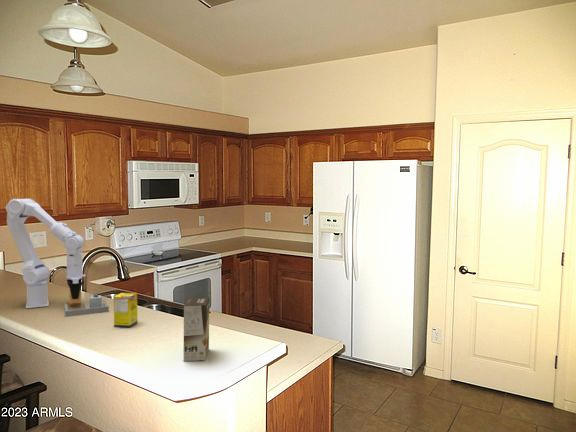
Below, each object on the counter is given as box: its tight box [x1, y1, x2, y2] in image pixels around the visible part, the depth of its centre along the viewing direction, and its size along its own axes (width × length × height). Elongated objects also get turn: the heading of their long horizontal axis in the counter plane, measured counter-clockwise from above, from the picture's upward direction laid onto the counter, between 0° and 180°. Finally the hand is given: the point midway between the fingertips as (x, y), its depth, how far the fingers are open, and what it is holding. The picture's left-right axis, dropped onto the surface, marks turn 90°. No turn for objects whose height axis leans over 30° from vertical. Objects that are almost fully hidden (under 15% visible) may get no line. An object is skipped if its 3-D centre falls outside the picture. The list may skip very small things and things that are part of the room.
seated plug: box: [89, 293, 103, 308], centre depth 168 cm, size 4×4×6 cm
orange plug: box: [68, 288, 82, 304], centre depth 172 cm, size 4×4×6 cm
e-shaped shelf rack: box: [64, 299, 110, 317], centre depth 166 cm, size 11×15×2 cm
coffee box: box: [183, 296, 210, 362], centre depth 123 cm, size 9×6×16 cm
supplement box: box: [113, 292, 138, 329], centre depth 149 cm, size 6×6×11 cm
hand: (74, 297), depth 172 cm, fingers closed on orange plug, 4 cm apart
